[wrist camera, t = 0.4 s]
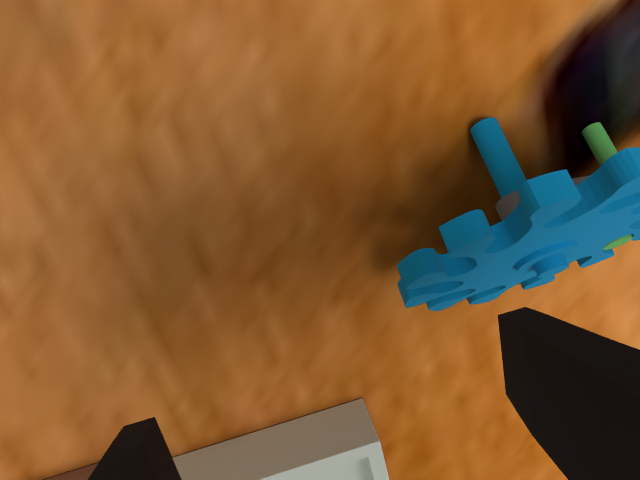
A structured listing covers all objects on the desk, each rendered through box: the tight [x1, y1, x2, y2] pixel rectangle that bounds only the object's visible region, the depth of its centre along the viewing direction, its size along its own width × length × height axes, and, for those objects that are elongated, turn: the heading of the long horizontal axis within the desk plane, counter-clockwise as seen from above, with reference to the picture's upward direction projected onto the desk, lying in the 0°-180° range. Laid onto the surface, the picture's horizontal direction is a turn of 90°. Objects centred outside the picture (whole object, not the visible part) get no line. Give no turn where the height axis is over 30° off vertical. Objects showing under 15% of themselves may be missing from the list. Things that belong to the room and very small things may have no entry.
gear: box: [397, 117, 640, 311], centre depth 19 cm, size 11×6×10 cm
